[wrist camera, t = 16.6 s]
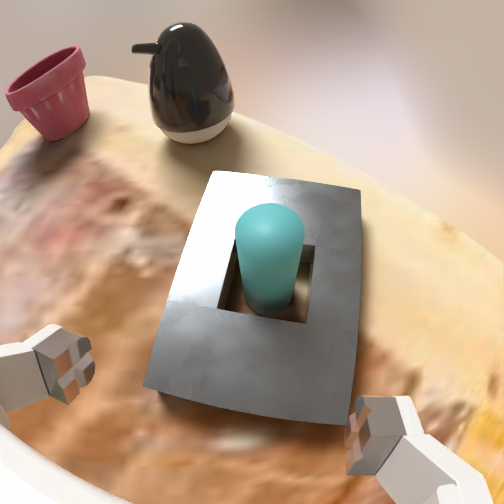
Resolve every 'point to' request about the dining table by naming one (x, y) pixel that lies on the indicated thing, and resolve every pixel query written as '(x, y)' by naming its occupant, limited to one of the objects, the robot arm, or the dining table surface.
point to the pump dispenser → (187, 84)
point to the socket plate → (261, 328)
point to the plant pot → (52, 94)
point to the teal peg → (269, 255)
